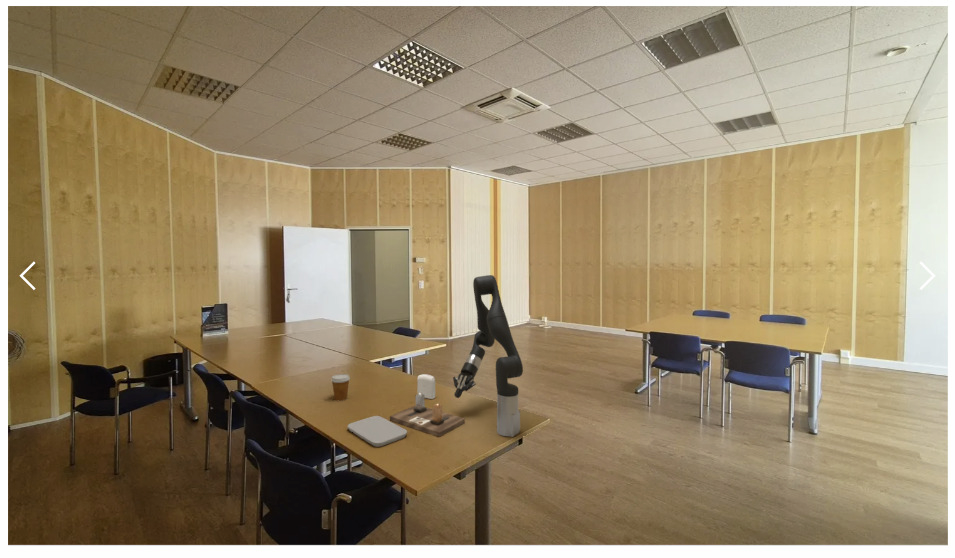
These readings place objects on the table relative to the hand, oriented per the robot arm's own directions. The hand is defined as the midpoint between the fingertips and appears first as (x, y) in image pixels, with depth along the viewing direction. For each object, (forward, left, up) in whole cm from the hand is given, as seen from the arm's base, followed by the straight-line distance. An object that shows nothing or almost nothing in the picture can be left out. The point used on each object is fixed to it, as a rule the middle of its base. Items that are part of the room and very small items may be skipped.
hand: (456, 397), depth 192 cm
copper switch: (0, +14, -7) cm, 16 cm away
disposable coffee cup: (+66, +16, -10) cm, 69 cm away
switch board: (+8, +12, -10) cm, 17 cm away
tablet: (+18, +33, -11) cm, 39 cm away
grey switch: (+16, +8, -7) cm, 19 cm away
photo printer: (+30, -12, -10) cm, 34 cm away
